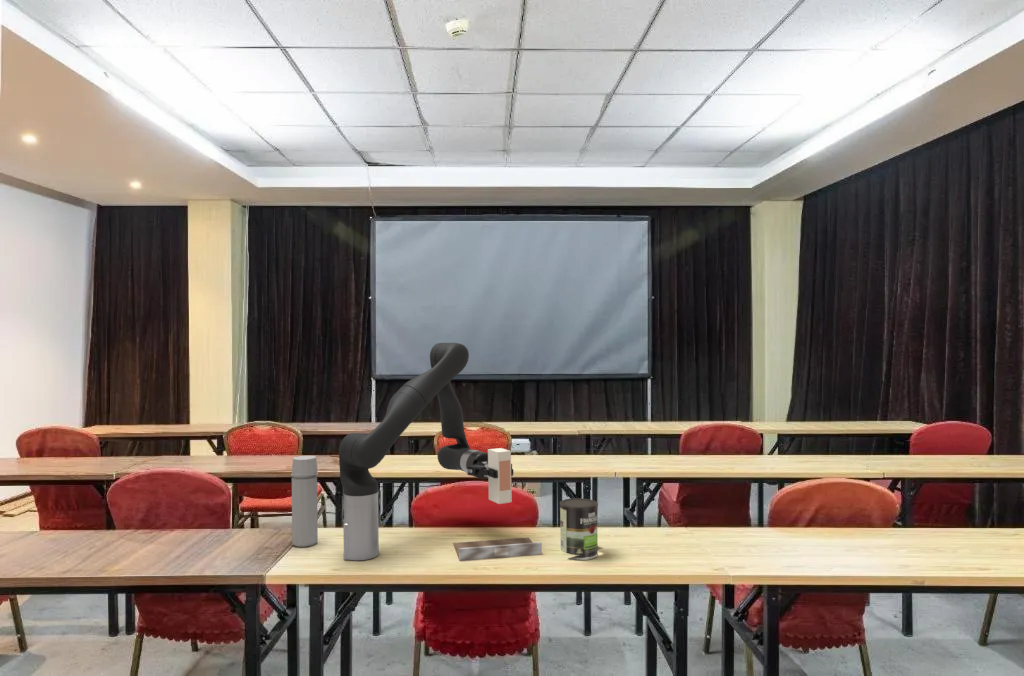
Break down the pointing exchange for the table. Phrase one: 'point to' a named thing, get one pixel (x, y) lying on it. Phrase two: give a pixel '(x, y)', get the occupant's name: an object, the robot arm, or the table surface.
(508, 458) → the tea box
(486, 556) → the grey tray
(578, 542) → the coffee can
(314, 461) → the water bottle
